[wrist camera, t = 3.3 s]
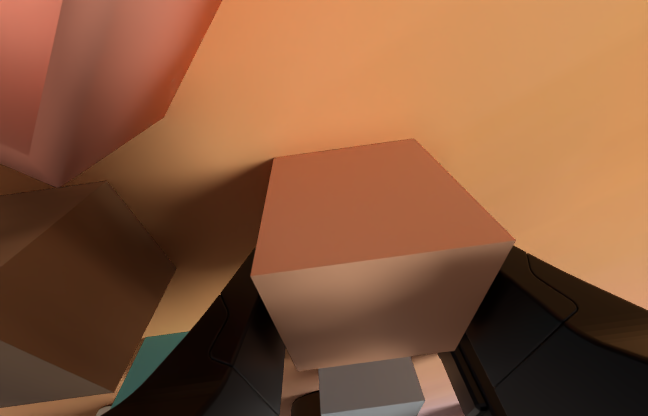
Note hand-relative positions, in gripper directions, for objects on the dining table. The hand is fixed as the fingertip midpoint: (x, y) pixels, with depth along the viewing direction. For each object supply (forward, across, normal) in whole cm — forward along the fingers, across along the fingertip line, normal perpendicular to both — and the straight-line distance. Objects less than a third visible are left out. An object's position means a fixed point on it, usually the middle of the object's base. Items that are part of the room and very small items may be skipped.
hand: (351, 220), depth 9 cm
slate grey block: (+1, 0, +11) cm, 11 cm away
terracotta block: (+1, 0, 0) cm, 1 cm away
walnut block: (+1, +11, 0) cm, 11 cm away
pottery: (+1, +2, -14) cm, 14 cm away
